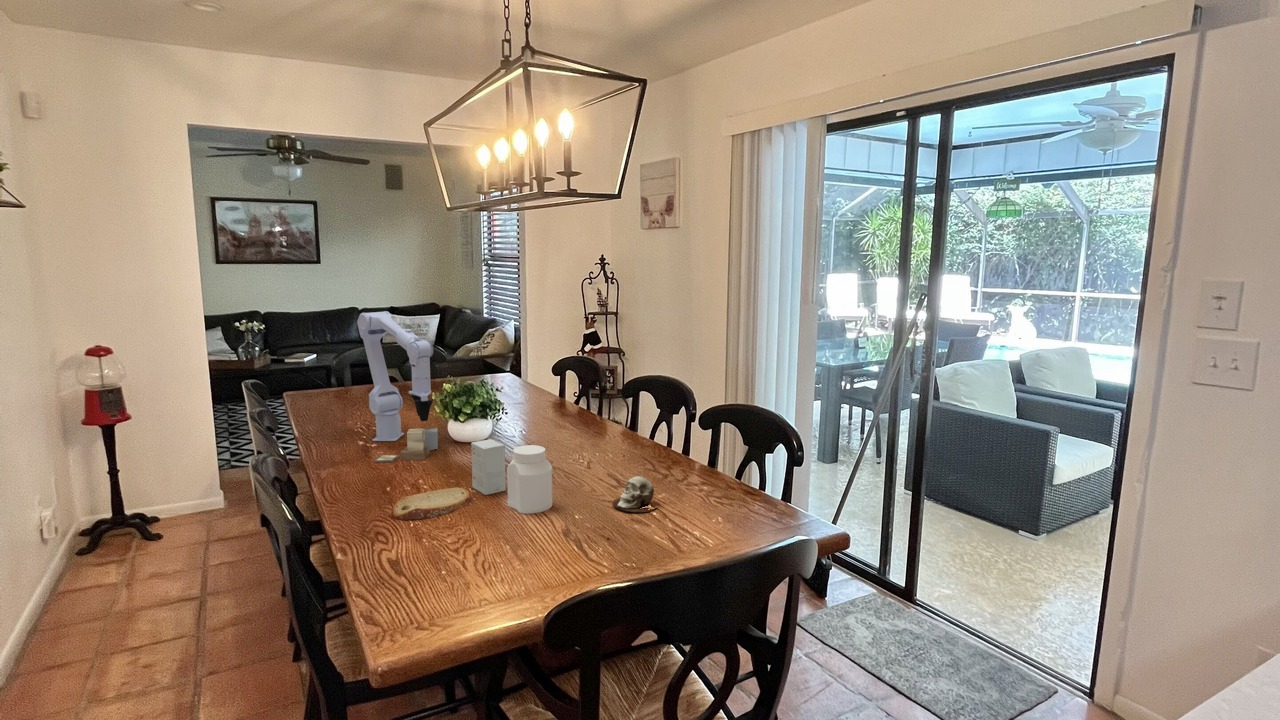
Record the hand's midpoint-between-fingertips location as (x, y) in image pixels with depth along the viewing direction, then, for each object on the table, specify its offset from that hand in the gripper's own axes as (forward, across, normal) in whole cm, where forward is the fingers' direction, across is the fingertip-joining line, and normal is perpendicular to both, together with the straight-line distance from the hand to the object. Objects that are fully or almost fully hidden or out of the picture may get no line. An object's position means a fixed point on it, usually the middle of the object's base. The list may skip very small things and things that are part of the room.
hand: (422, 418), depth 223 cm
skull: (+11, +73, +44) cm, 86 cm away
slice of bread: (+11, +54, -4) cm, 55 cm away
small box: (+11, +46, +12) cm, 49 cm away
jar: (+11, +62, +19) cm, 66 cm away
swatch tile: (+10, +8, -12) cm, 18 cm away
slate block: (+10, 0, +2) cm, 11 cm away
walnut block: (+11, +8, -4) cm, 14 cm away
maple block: (+8, +8, -3) cm, 12 cm away
